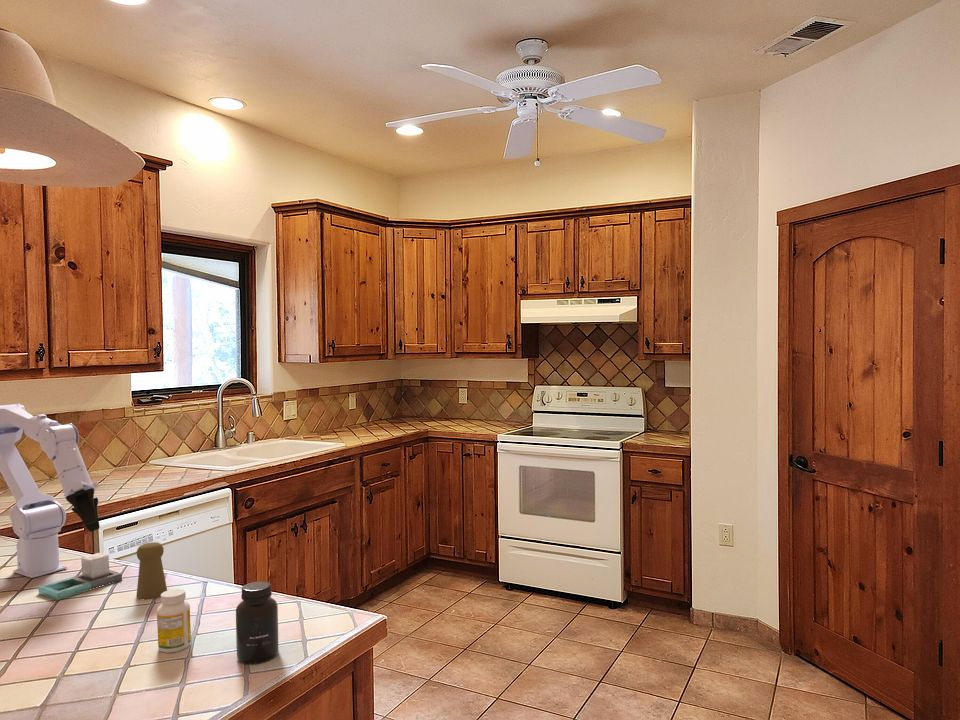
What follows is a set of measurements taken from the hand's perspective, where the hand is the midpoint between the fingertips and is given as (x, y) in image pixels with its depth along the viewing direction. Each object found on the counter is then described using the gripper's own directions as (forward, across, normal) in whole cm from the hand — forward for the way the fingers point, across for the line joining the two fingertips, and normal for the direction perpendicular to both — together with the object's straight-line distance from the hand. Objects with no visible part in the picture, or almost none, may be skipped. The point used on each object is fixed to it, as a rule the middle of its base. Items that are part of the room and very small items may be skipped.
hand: (93, 526), depth 155 cm
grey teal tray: (+11, +5, +6) cm, 13 cm away
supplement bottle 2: (+42, -44, -16) cm, 64 cm away
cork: (+21, -7, -6) cm, 22 cm away
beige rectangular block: (+11, +7, +3) cm, 13 cm away
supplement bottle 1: (+34, -35, -5) cm, 49 cm away
